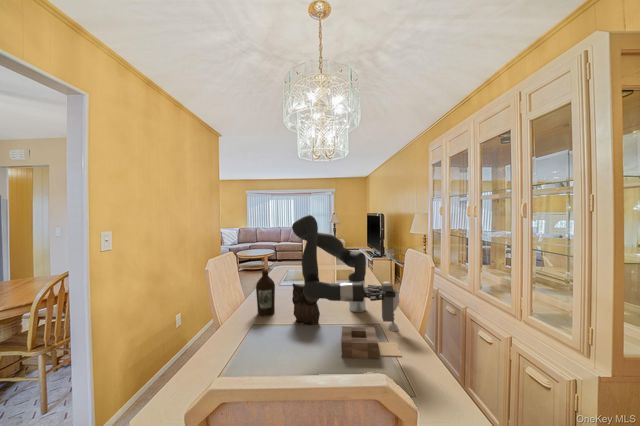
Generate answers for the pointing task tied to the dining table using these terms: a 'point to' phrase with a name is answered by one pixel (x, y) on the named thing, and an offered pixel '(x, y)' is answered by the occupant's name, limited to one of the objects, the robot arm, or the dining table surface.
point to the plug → (387, 303)
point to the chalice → (393, 325)
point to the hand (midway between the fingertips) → (394, 292)
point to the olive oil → (265, 295)
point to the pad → (389, 349)
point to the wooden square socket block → (359, 342)
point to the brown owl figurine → (304, 307)
